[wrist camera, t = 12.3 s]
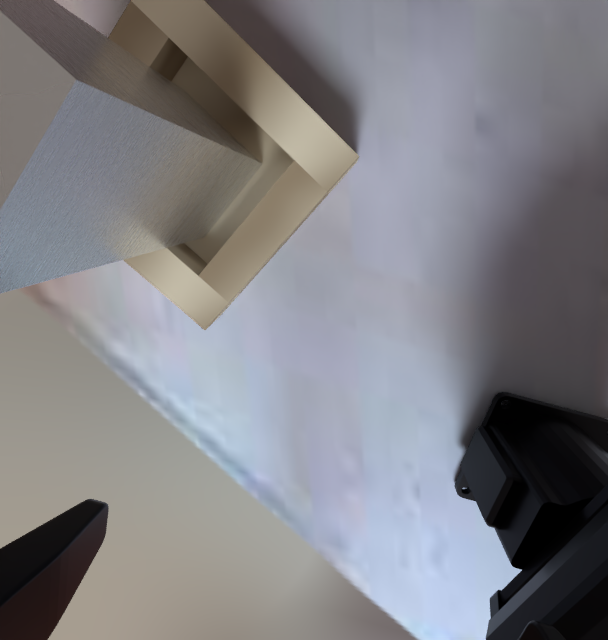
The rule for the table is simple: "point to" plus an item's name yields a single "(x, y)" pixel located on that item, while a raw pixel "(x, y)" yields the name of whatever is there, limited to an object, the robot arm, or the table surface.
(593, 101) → the table surface
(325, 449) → the table surface
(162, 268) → the socket block
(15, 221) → the steel bar
